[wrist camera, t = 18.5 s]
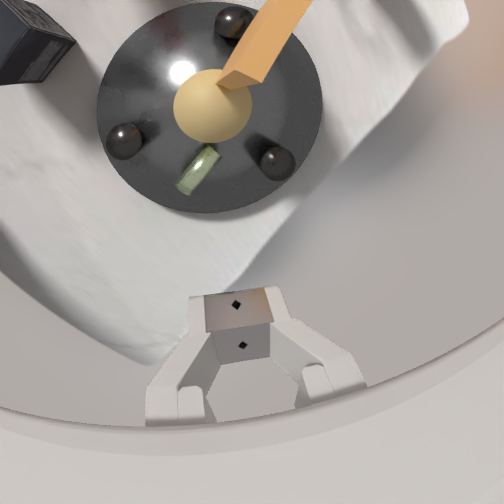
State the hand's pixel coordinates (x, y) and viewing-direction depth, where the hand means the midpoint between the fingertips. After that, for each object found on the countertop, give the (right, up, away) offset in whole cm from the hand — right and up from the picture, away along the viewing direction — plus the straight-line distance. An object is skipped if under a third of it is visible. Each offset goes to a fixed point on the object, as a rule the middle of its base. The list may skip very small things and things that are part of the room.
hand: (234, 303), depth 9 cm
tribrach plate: (-4, +17, +16) cm, 23 cm away
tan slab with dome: (-2, +19, +12) cm, 22 cm away
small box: (-23, +25, +6) cm, 35 cm away
